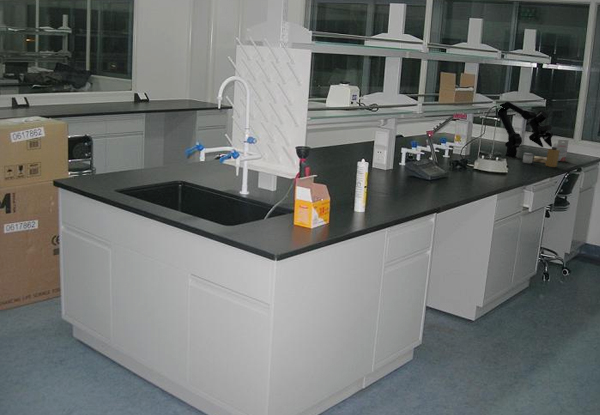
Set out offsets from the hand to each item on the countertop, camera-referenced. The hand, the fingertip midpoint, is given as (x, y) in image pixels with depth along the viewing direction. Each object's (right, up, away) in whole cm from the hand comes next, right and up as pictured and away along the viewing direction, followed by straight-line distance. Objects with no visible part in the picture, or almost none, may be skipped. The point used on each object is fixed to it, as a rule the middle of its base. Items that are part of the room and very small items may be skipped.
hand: (547, 146), depth 457 cm
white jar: (-12, -10, +4) cm, 16 cm away
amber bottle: (+2, -13, -1) cm, 13 cm away
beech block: (0, -9, +14) cm, 17 cm away
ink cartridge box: (+17, -7, +26) cm, 32 cm away
